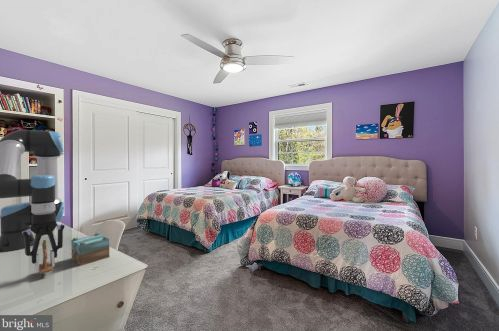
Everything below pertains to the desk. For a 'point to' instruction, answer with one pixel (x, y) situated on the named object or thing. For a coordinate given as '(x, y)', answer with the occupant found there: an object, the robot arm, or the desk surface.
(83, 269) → the desk surface
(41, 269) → the lever handle backplate
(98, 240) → the teal and brown block
